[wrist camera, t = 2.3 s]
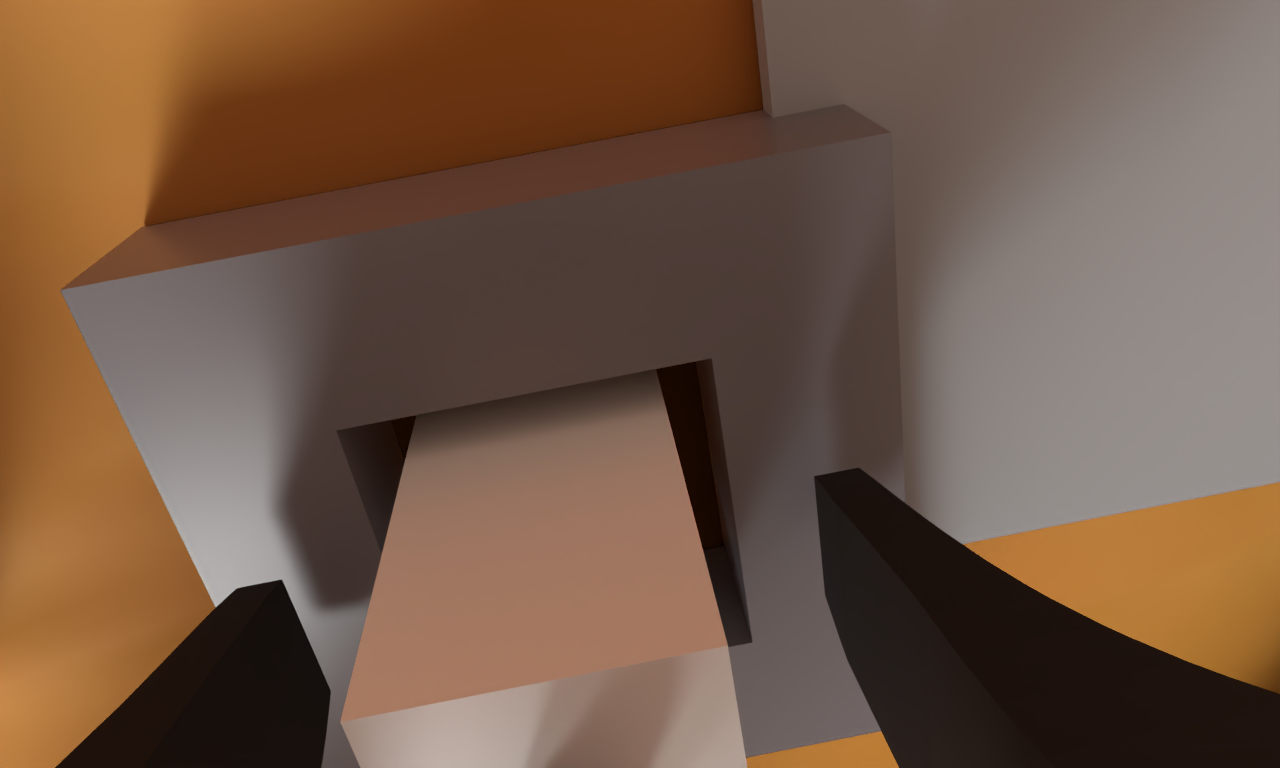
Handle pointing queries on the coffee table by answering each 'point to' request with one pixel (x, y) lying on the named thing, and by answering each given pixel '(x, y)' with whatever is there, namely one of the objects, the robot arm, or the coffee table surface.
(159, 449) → the socket block
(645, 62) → the coffee table surface
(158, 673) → the robot arm
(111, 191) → the coffee table surface
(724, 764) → the plug
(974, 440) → the rubber pad
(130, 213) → the coffee table surface
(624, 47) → the coffee table surface
